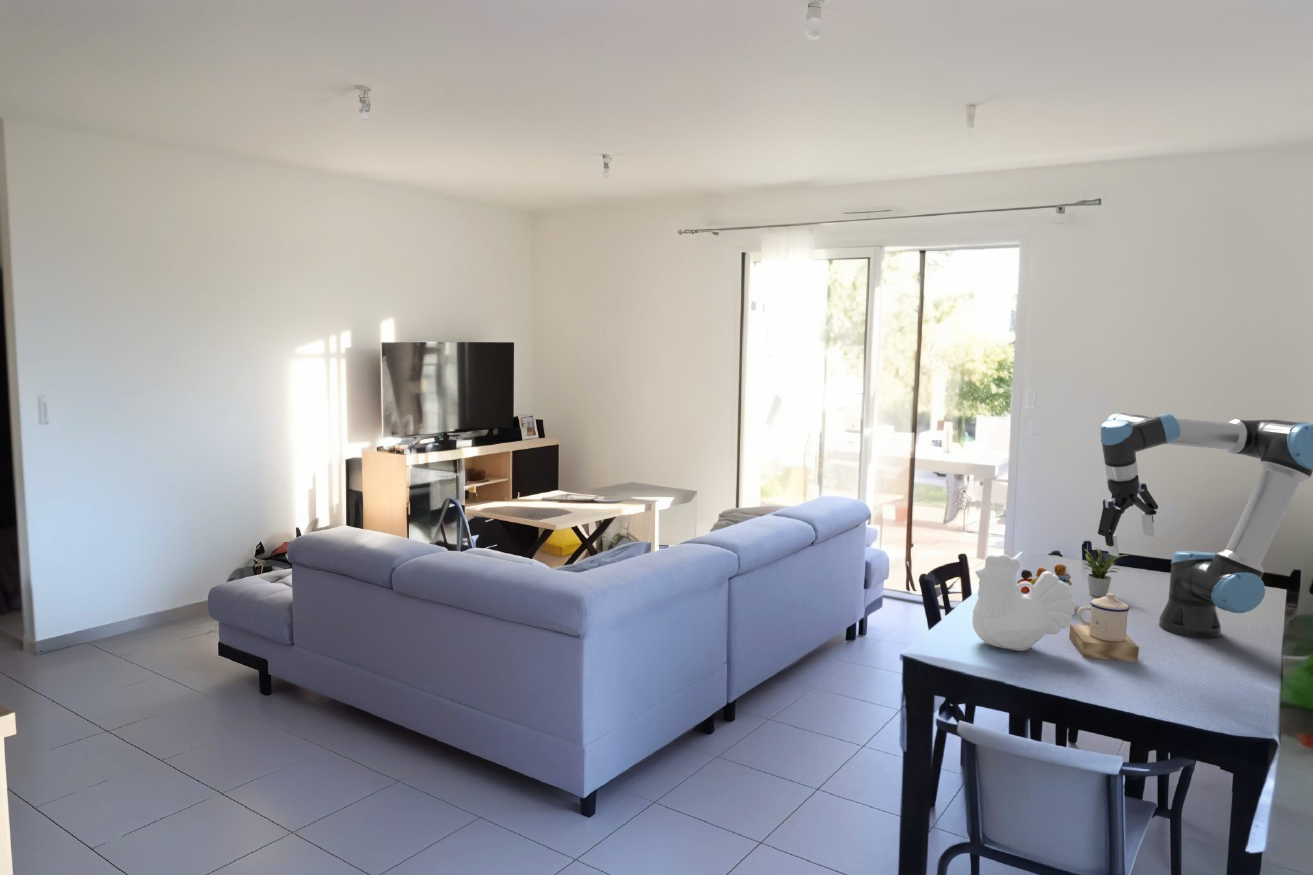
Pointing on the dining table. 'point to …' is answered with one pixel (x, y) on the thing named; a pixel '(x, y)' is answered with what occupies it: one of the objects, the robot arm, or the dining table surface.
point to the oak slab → (1102, 646)
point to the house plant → (1099, 573)
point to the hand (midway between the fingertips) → (1131, 544)
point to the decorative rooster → (1018, 605)
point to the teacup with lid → (1107, 618)
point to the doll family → (1026, 574)
